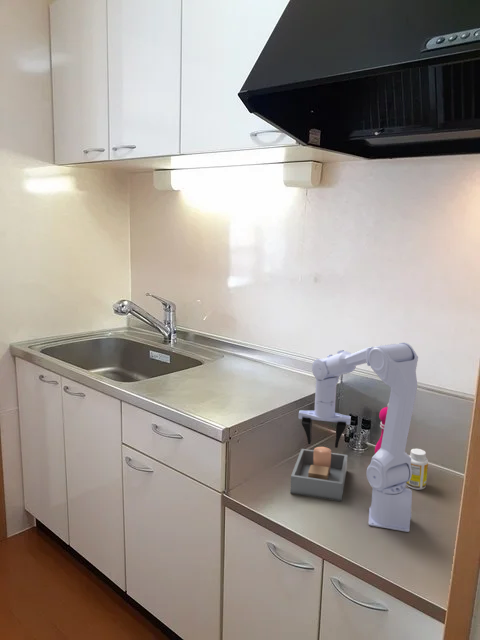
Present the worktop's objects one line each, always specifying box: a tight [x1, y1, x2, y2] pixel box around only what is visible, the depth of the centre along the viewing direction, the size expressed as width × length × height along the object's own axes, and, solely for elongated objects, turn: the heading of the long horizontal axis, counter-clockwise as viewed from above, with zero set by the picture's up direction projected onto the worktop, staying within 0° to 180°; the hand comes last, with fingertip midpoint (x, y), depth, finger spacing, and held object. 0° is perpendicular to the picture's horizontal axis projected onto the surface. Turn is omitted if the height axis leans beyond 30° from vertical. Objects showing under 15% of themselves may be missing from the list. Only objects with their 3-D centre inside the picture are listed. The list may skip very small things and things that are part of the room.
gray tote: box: [289, 448, 348, 502], centre depth 142 cm, size 14×18×5 cm
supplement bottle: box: [406, 448, 429, 491], centre depth 140 cm, size 6×6×10 cm
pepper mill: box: [374, 402, 389, 454], centre depth 151 cm, size 7×7×20 cm
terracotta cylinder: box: [313, 446, 332, 476], centre depth 145 cm, size 5×5×7 cm
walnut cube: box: [308, 465, 329, 480], centre depth 138 cm, size 5×5×5 cm
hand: (323, 444), depth 144 cm, fingers open, 7 cm apart
